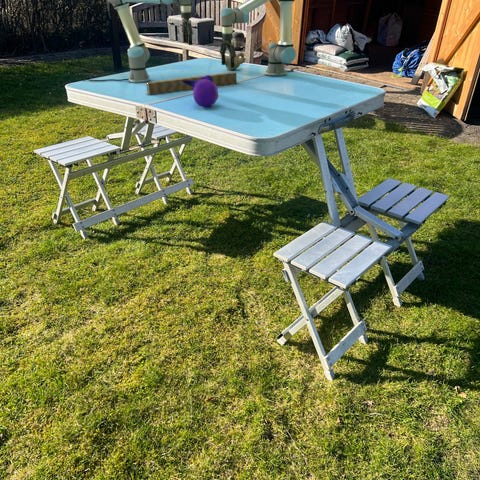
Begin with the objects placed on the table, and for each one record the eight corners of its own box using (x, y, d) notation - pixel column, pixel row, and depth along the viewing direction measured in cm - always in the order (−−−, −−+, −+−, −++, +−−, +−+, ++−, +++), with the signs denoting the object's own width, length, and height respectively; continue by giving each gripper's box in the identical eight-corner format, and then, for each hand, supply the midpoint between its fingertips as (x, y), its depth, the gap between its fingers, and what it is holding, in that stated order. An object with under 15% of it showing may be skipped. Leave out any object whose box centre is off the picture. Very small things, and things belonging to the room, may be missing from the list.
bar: (149, 95, 298) (148, 83, 294) (147, 93, 301) (146, 82, 298) (236, 83, 325) (236, 72, 321) (233, 82, 329) (233, 71, 325)
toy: (206, 98, 286) (218, 113, 265) (179, 93, 279) (189, 108, 258) (211, 72, 278) (224, 86, 257) (184, 67, 271) (195, 81, 250)
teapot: (225, 72, 364) (224, 52, 356) (218, 70, 372) (217, 50, 365) (247, 69, 373) (247, 50, 365) (240, 67, 381) (240, 48, 374)
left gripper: (196, 13, 318) (197, 45, 329) (186, 11, 338) (187, 41, 349) (186, 13, 316) (187, 46, 326) (176, 11, 335) (178, 42, 346)
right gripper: (240, 34, 300) (241, 68, 311) (223, 31, 319) (224, 63, 329) (231, 35, 297) (231, 69, 307) (214, 32, 316) (215, 64, 326)
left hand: (187, 43), depth 337 cm, fingers open, 13 cm apart
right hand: (228, 66), depth 318 cm, fingers open, 13 cm apart
